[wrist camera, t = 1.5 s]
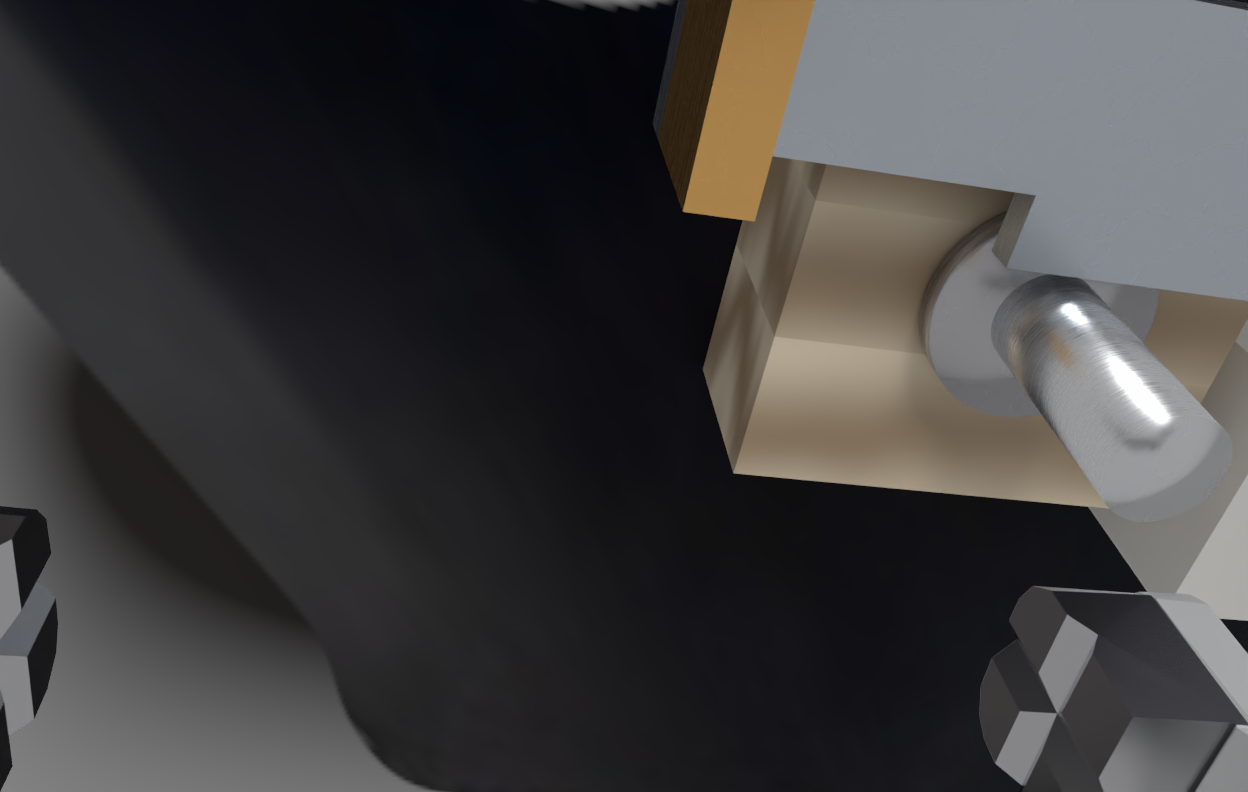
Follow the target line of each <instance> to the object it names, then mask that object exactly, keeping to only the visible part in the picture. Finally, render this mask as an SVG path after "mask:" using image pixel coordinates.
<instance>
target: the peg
mask: <svg viewBox="0 0 1248 792" xmlns="http://www.w3.org/2000/svg"><path fill="white" fill-rule="evenodd" d="M1007 211H1008V210H1007ZM1007 211H1005V212H1002V213H1000V214H998V215H996V216H994V217H992V218H990V219H989V220H987V221H985V222H984V223H982V224H981V225H979V226H978V227H976V228H975V229H973V230H972V231H971V232H969V233H968V234H967V235H966V236H965V237H964V238H962V239H961V240H960V241H959V242H958V243H957V244H956V245H955V246H954V247H953V248H952V249H951V250H950V251H949V252H948V254H947V255H946V256H945V258H944V259H943V260H942V261H941V263H940V264H939V266H938V267H937V269H936V271H935V272H934V274H933V276H932V277H931V279H930V282H929V284H928V286H927V288H926V290H925V294H924V297H923V300H922V303H921V309H920V316H919V332H920V339H921V344H922V347H923V350H924V353H925V355H926V357H927V359H928V361H929V363H930V364H931V366H932V368H933V369H934V371H935V372H936V374H937V376H938V377H939V379H940V381H941V382H942V383H943V385H944V386H945V387H946V389H947V390H948V391H949V392H950V393H951V394H952V395H953V396H954V397H955V398H956V399H958V400H959V401H961V402H962V403H964V404H965V405H967V406H969V407H971V408H973V409H975V410H977V411H980V412H983V413H987V414H990V415H996V416H1002V417H1026V416H1034V415H1040V414H1041V415H1042V416H1043V417H1044V419H1045V420H1046V422H1047V423H1048V424H1049V426H1050V427H1051V429H1052V430H1053V431H1054V433H1055V434H1056V435H1057V437H1058V438H1059V440H1060V441H1061V442H1062V444H1063V445H1064V447H1065V448H1066V449H1067V451H1068V452H1069V454H1070V455H1071V456H1072V458H1073V459H1074V461H1075V462H1076V463H1077V465H1078V466H1079V467H1080V469H1081V470H1082V472H1083V473H1084V474H1085V476H1086V477H1087V479H1088V480H1089V481H1090V483H1091V484H1092V486H1093V487H1094V488H1095V490H1096V491H1097V493H1098V494H1099V495H1100V497H1101V498H1102V499H1103V501H1104V502H1105V504H1106V505H1107V506H1108V508H1109V509H1110V510H1111V511H1112V512H1113V513H1115V514H1116V515H1118V516H1120V517H1122V518H1124V519H1128V520H1131V521H1137V522H1151V521H1159V520H1164V519H1167V518H1171V517H1174V516H1176V515H1179V514H1181V513H1183V512H1186V511H1188V510H1189V509H1191V508H1193V507H1195V506H1196V505H1197V504H1199V503H1200V502H1202V501H1203V500H1204V499H1206V498H1207V497H1208V496H1209V495H1210V494H1211V493H1212V492H1213V491H1214V490H1215V489H1216V488H1217V487H1218V485H1219V484H1220V483H1221V481H1222V480H1223V478H1224V477H1225V475H1226V473H1227V471H1228V469H1229V466H1230V464H1231V459H1232V450H1233V449H1232V443H1231V440H1230V437H1229V435H1228V434H1227V432H1226V431H1225V430H1224V428H1223V427H1222V426H1221V425H1220V424H1219V423H1218V422H1217V421H1216V420H1215V419H1214V418H1213V417H1212V416H1211V415H1210V414H1209V412H1208V411H1207V410H1206V409H1205V408H1204V407H1203V406H1202V405H1201V404H1200V403H1199V402H1198V401H1197V400H1196V399H1195V398H1194V396H1193V395H1192V394H1191V393H1190V392H1189V391H1188V390H1187V389H1186V388H1185V387H1184V386H1183V385H1182V384H1181V383H1180V382H1179V381H1178V379H1177V378H1176V377H1175V376H1174V375H1173V374H1172V373H1171V372H1170V371H1169V370H1168V369H1167V368H1166V367H1165V366H1164V365H1163V363H1162V362H1161V361H1160V360H1159V359H1158V358H1157V357H1156V356H1155V355H1154V354H1153V353H1152V352H1151V351H1150V350H1149V349H1148V348H1147V346H1146V345H1145V344H1144V343H1143V341H1144V340H1145V338H1146V336H1147V334H1148V332H1149V330H1150V327H1151V325H1152V323H1153V320H1154V316H1155V313H1156V310H1157V303H1158V297H1159V289H1156V288H1149V287H1141V286H1134V285H1126V284H1119V283H1112V282H1104V281H1097V280H1089V279H1082V278H1075V277H1067V276H1060V275H1053V274H1045V273H1038V272H1030V271H1023V270H1016V269H1008V268H1005V266H1004V265H1003V264H1002V263H1001V262H1000V260H999V259H998V258H997V257H996V256H995V254H994V253H993V252H992V248H993V246H994V243H995V241H996V238H997V236H998V233H999V231H1000V228H1001V226H1002V223H1003V221H1004V218H1005V216H1006V213H1007Z"/></svg>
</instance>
